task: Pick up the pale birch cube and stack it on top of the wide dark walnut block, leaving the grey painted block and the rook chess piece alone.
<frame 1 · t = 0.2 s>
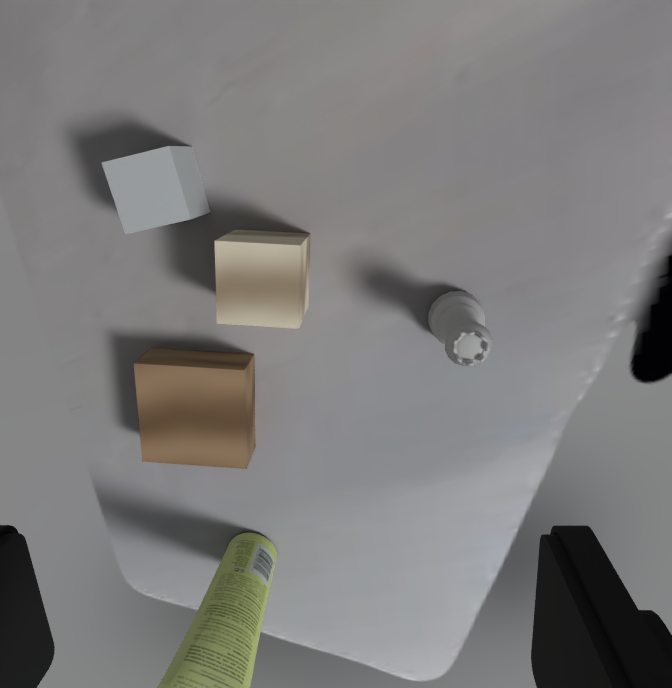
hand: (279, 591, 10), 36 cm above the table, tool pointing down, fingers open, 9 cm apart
walnut block: (205, 397, 49), on the table
tube: (251, 549, 54), on the table
birch block: (272, 268, 45), on the table
rook chess piece: (454, 315, 45), on the table
grey block: (171, 187, 43), on the table
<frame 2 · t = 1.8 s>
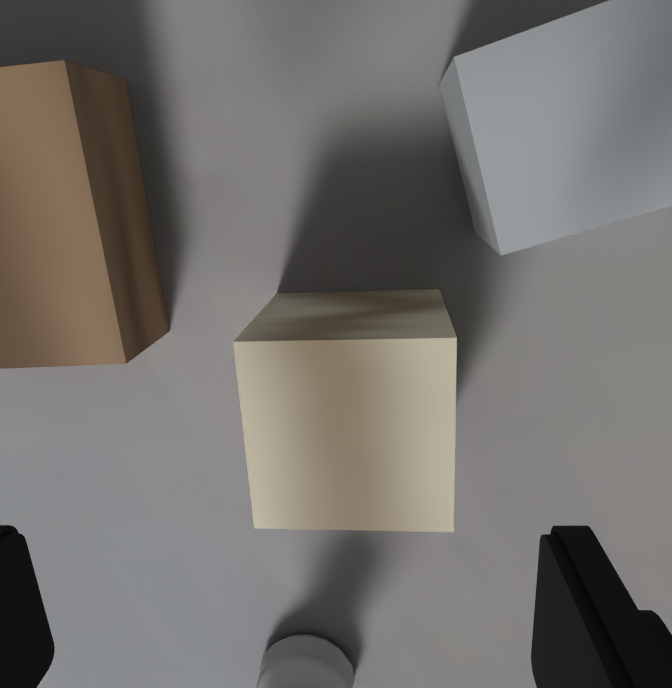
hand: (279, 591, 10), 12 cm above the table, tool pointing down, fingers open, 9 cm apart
walnut block: (40, 221, 21), on the table
birch block: (359, 366, 21), on the table
rook chess piece: (309, 661, 26), on the table
grey block: (532, 137, 18), on the table
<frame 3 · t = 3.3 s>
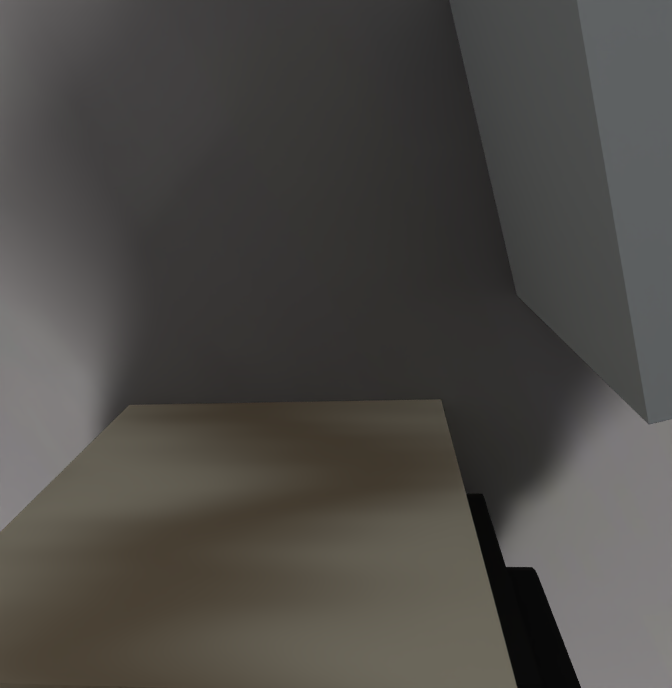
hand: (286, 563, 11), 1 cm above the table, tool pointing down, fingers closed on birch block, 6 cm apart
birch block: (293, 534, 11), on the table, touching gripper
grey block: (643, 96, 9), on the table
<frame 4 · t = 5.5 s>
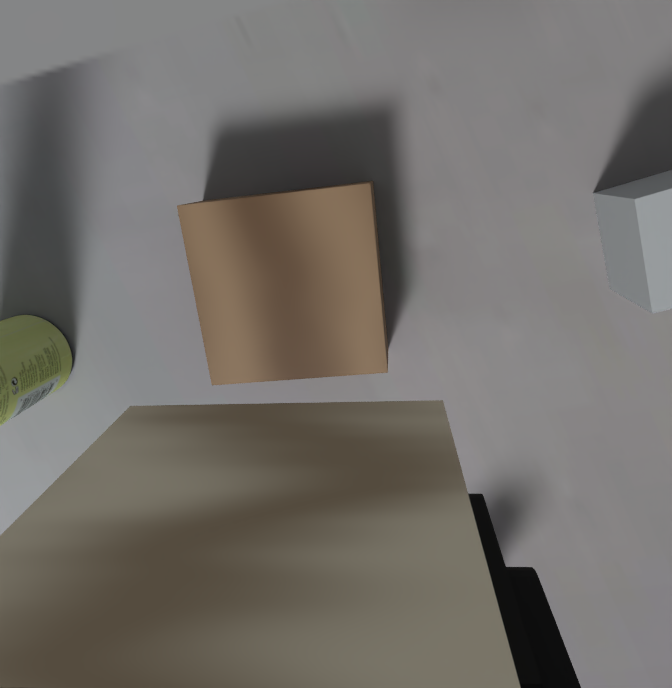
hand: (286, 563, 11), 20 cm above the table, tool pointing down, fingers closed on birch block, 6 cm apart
walnut block: (298, 275, 30), on the table
tube: (38, 349, 33), on the table
birch block: (294, 535, 11), point 20 cm above the table, touching gripper
grey block: (653, 227, 27), on the table
when the fingers open (5 cm above the table, at t = 8.1 s): birch block drops 1 cm, point 4 cm above the table.
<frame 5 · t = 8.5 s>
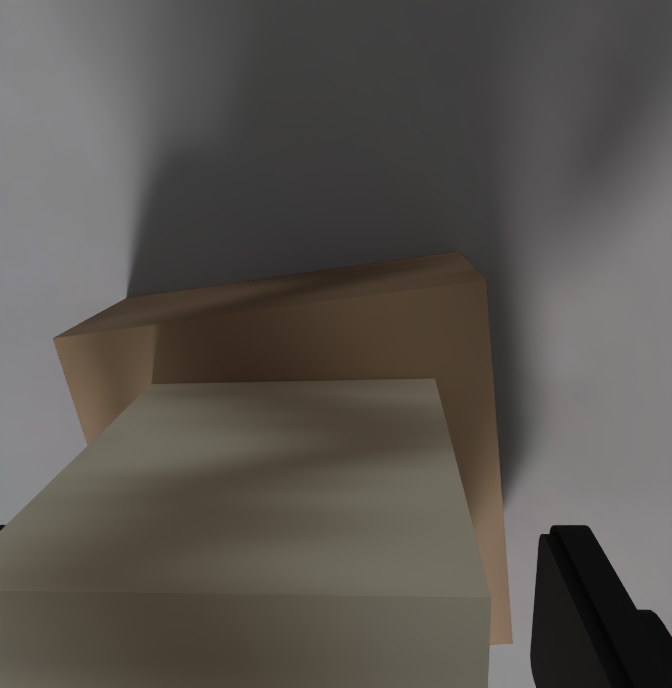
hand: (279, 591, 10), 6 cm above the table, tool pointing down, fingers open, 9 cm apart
walnut block: (316, 422, 16), on the table
birch block: (300, 504, 12), point 4 cm above the table
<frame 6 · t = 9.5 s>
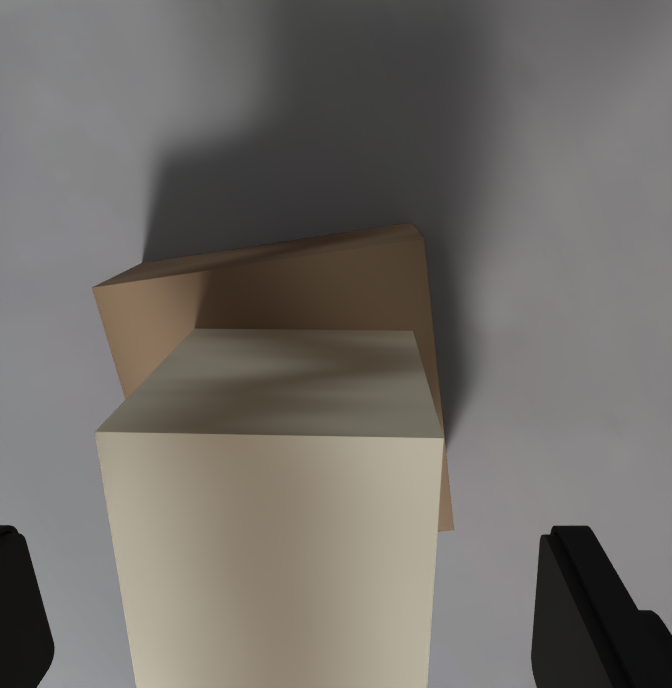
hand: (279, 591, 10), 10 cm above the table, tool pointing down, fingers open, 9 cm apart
walnut block: (299, 366, 20), on the table, touching birch block
birch block: (305, 427, 16), point 4 cm above the table, touching walnut block
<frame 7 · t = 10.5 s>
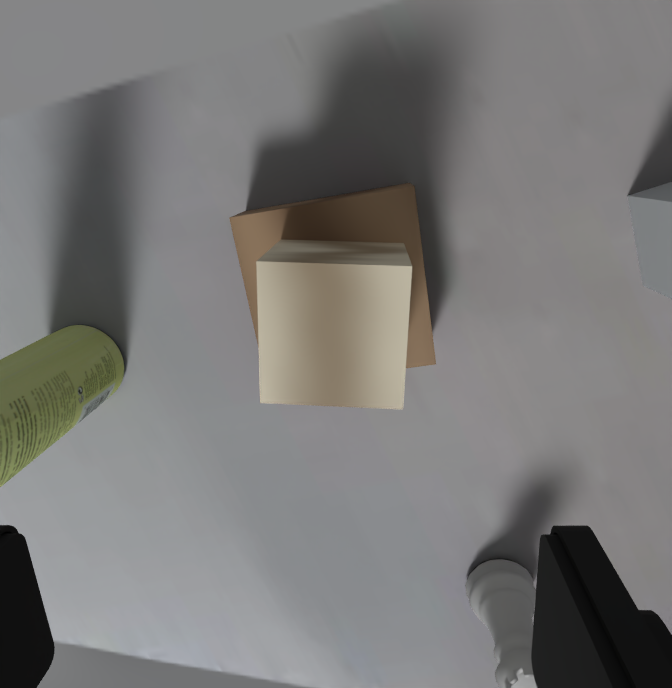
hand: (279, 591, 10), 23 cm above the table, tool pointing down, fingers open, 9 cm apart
walnut block: (340, 277, 31), on the table, touching birch block
tube: (89, 357, 34), on the table
birch block: (340, 301, 28), point 4 cm above the table, touching walnut block
rook chess piece: (497, 580, 37), on the table
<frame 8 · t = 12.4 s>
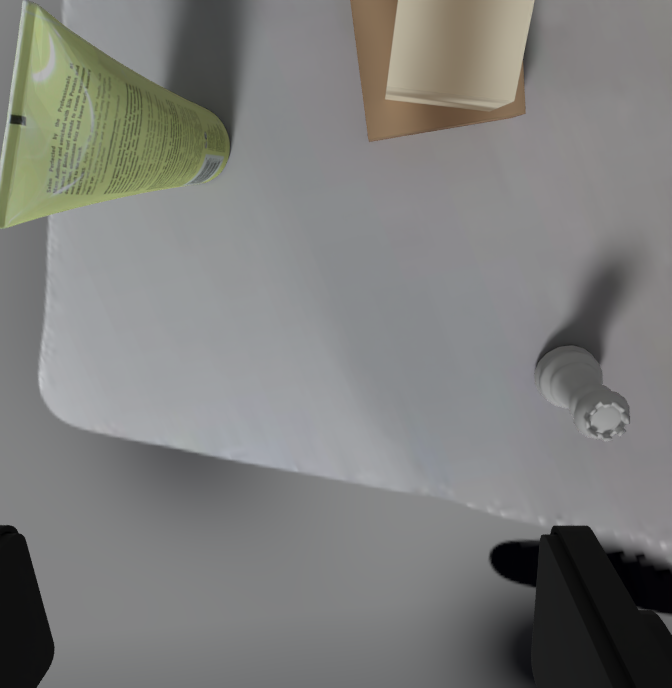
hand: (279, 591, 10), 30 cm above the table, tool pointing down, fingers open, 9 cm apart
walnut block: (431, 53, 34), on the table
tube: (196, 142, 37), on the table
birch block: (446, 47, 31), point 4 cm above the table
rook chess piece: (563, 371, 40), on the table
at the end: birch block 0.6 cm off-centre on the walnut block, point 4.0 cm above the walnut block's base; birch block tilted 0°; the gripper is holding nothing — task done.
